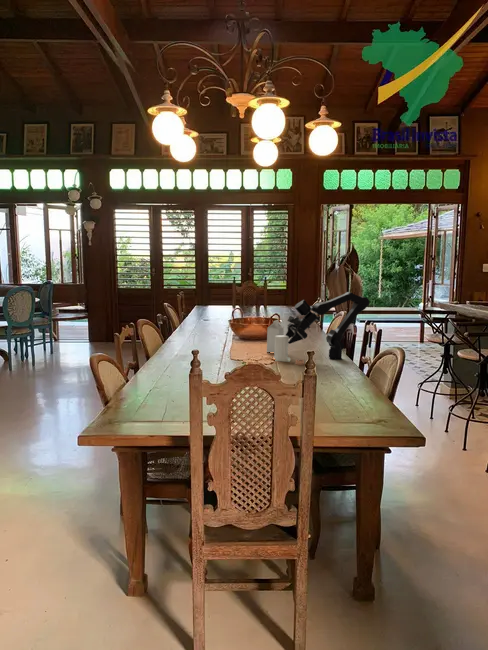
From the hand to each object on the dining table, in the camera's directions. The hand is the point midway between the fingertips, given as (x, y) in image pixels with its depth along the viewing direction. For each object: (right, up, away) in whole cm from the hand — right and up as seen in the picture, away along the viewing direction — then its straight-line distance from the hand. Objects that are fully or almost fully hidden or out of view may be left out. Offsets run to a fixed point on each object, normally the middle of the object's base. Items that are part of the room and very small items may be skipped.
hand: (286, 341), depth 265 cm
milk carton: (-5, -7, +17) cm, 19 cm away
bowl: (+6, -12, -9) cm, 16 cm away
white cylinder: (-3, -10, +1) cm, 10 cm away
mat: (-3, -10, +1) cm, 10 cm away
